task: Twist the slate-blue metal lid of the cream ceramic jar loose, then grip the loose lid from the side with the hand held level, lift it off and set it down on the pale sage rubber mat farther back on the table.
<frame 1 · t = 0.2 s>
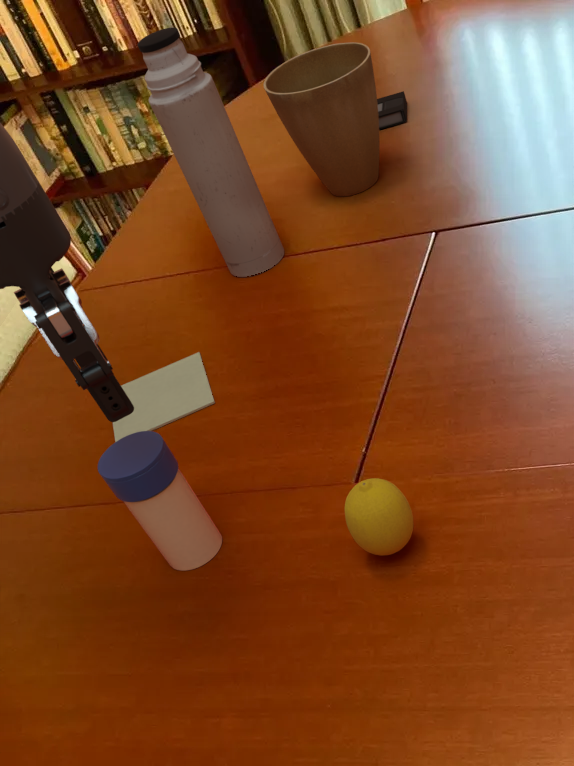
hand: (110, 391, 71), 18 cm above the table, tool pointing down, fingers open, 8 cm apart
lemon: (394, 551, 77), on the table
plant pot: (356, 185, 128), on the table
mat: (160, 398, 103), on the table
thermos bottle: (257, 262, 120), on the table
jar: (195, 548, 84), on the table
lid: (132, 457, 75), point 12 cm above the table, screwed on, not yet turned
vhs tape: (365, 126, 142), on the table
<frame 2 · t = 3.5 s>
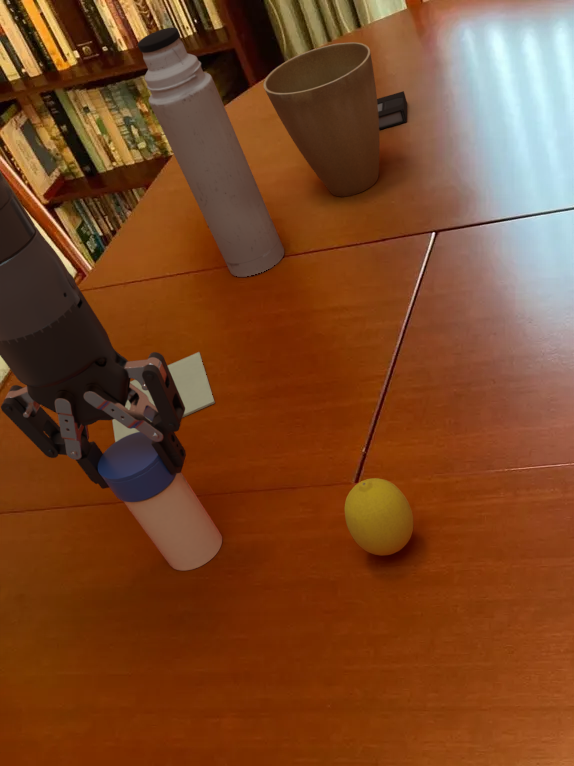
hand: (144, 474, 77), 10 cm above the table, tool pointing down, fingers closed on lid, 6 cm apart
lid: (132, 457, 75), point 12 cm above the table, screwed on, not yet turned, touching gripper
everything else where it was.
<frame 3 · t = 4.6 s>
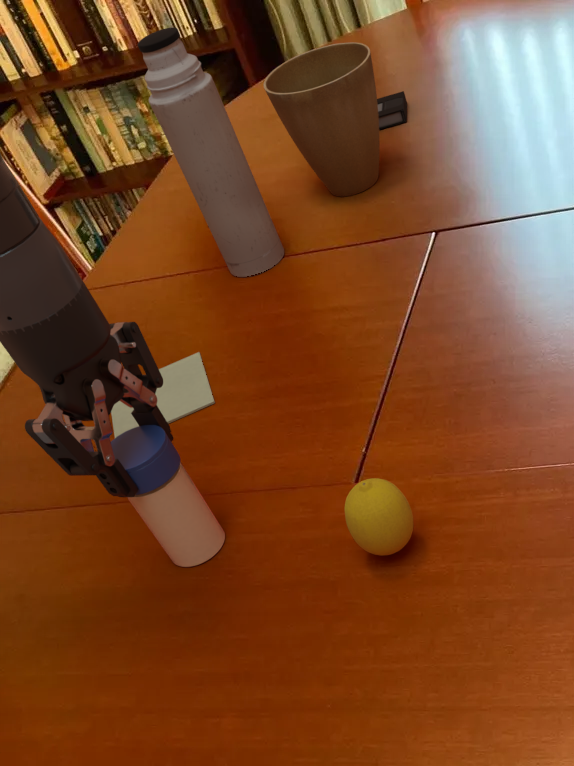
hand: (146, 467, 77), 10 cm above the table, tool pointing down, fingers closed on lid, 6 cm apart
lid: (134, 450, 76), point 12 cm above the table, turned 72° so far, risen 0.2 cm, still on its thread, touching gripper
everything else where it was.
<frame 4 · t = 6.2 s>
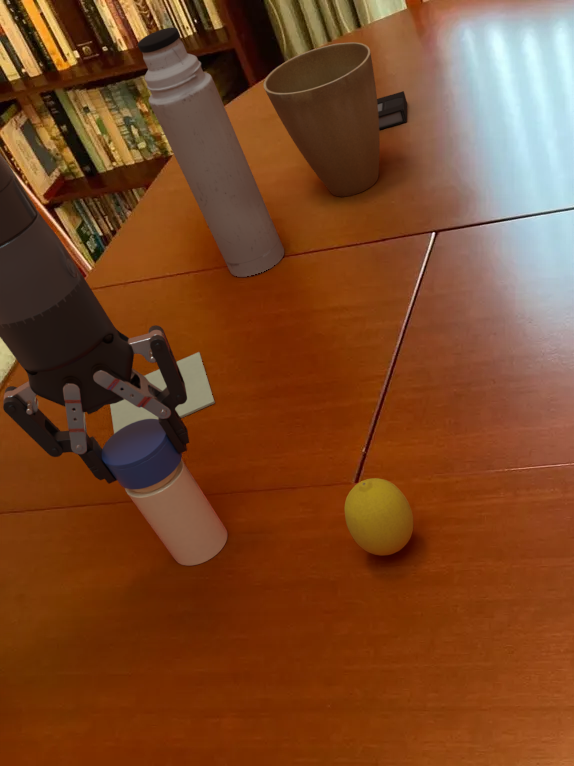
hand: (147, 461, 77), 10 cm above the table, tool pointing down, fingers closed on lid, 6 cm apart
lid: (136, 444, 75), point 12 cm above the table, off its thread, touching gripper
everything else where it was.
when the fingers open (10 cm above the table, at t = 7.1 s): lid stays where it is, resting on jar.
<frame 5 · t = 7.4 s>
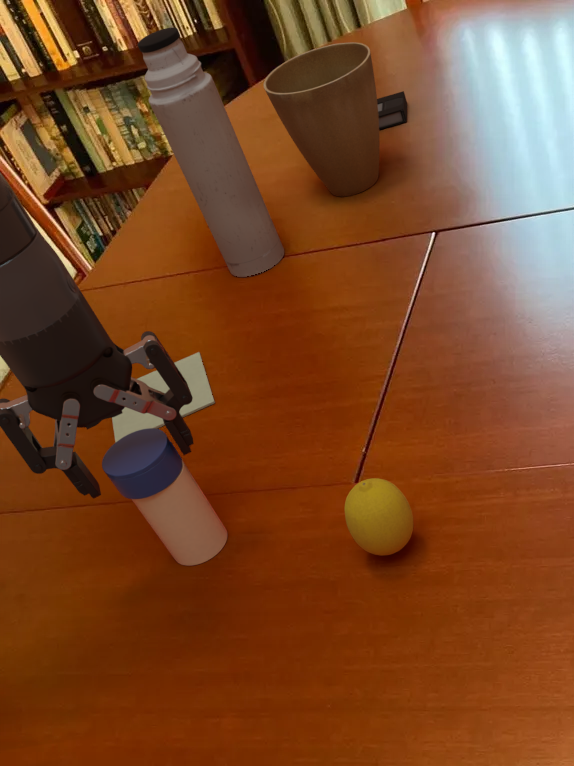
hand: (141, 470, 77), 10 cm above the table, tool pointing down, fingers open, 8 cm apart
jar: (200, 543, 84), on the table, touching lid
lid: (136, 454, 76), point 11 cm above the table, off its thread, touching jar
everything else where it was.
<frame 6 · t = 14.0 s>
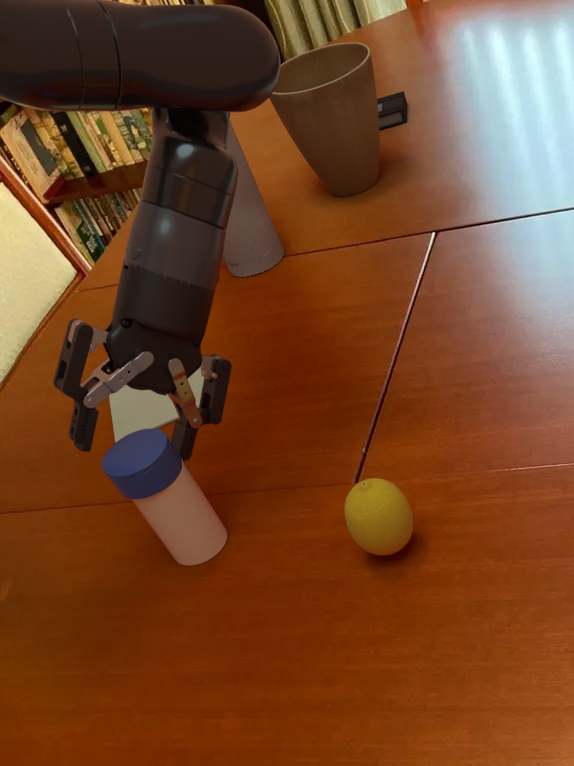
hand: (129, 456, 78), 10 cm above the table, tool tilted 45°, fingers open, 8 cm apart
jar: (200, 543, 84), on the table, touching gripper, lid
everything else where it was.
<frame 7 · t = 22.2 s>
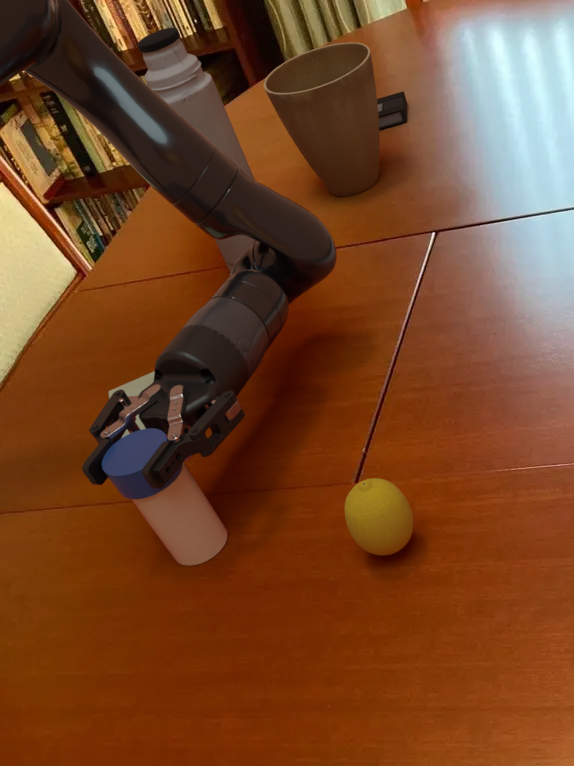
hand: (119, 479, 74), 11 cm above the table, tool horizontal, fingers closed on lid, 6 cm apart
jar: (200, 543, 84), on the table, touching lid
lid: (136, 454, 76), point 12 cm above the table, off its thread, touching gripper, jar
everything else where it was.
when the fingers open (4 cm above the table, at t = 33.0 s): lid drops 1 cm, resting on mat.
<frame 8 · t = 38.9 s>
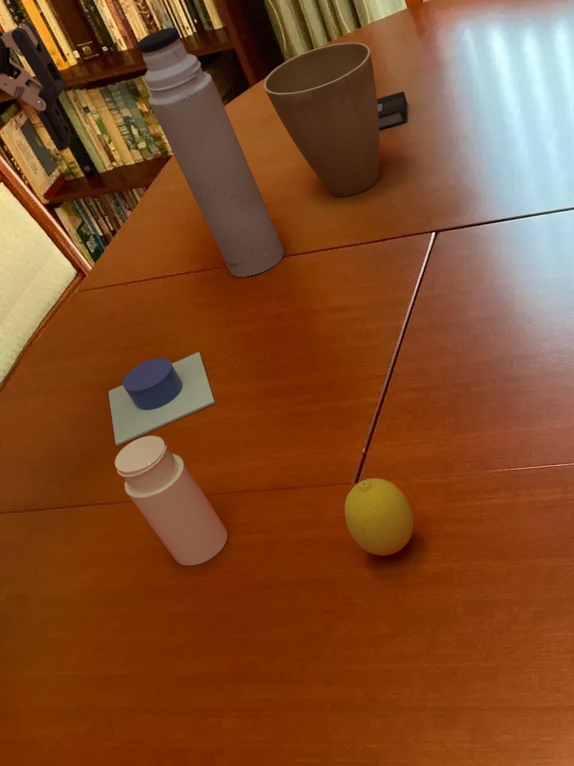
hand: (27, 158, 89), 26 cm above the table, tool pointing down, fingers open, 8 cm apart
jar: (200, 543, 84), on the table
lid: (148, 376, 102), point 3 cm above the table, off its thread, touching mat
everything else where it was.
at the end: the gripper is holding nothing; lid point 2.7 cm above the table; lid inside the target area on the mat (0.5 cm from its centre), point 2.7 cm above the mat's base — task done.
